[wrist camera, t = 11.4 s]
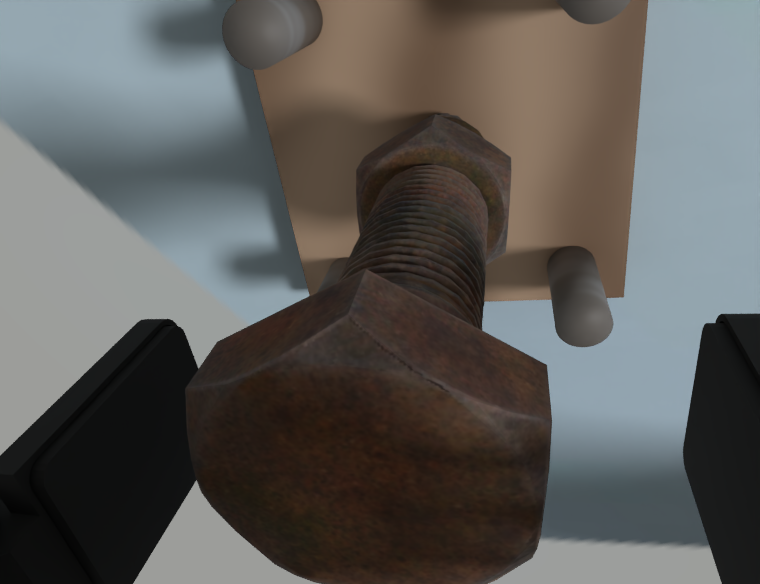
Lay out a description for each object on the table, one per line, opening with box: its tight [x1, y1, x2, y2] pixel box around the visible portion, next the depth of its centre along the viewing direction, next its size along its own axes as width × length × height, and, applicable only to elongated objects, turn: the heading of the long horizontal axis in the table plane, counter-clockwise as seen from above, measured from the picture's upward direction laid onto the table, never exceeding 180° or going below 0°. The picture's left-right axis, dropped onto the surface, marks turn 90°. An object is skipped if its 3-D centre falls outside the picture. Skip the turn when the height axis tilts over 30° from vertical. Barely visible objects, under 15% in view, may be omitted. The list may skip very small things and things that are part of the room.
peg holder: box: [222, 0, 648, 347], centre depth 19 cm, size 13×13×6 cm
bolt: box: [185, 113, 552, 584], centre depth 14 cm, size 6×5×15 cm
